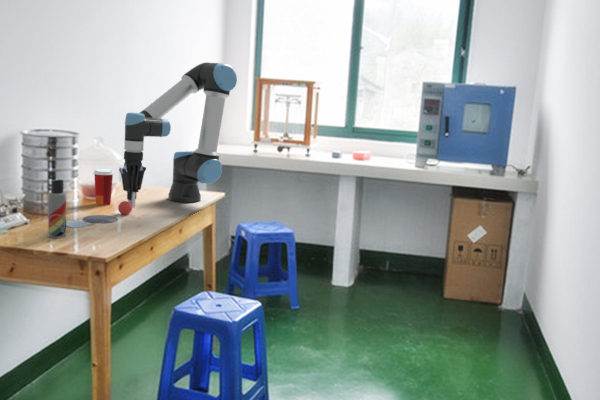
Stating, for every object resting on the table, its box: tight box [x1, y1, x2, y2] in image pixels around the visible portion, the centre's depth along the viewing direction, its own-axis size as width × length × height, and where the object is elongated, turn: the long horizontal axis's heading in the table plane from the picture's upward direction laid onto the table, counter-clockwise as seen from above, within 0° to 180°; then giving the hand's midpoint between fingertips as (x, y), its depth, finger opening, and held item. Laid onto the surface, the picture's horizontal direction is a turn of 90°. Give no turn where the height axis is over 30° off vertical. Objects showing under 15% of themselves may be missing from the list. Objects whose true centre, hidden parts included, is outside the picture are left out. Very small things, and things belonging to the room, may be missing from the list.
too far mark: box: [66, 219, 94, 229], centre depth 226 cm, size 9×9×1 cm
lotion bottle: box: [47, 179, 67, 239], centre depth 207 cm, size 6×6×20 cm
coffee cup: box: [93, 168, 114, 207], centre depth 261 cm, size 8×8×15 cm
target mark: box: [82, 214, 119, 224], centre depth 236 cm, size 13×13×1 cm
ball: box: [117, 200, 133, 216], centre depth 247 cm, size 6×6×6 cm
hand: (131, 207), depth 250 cm, fingers closed
